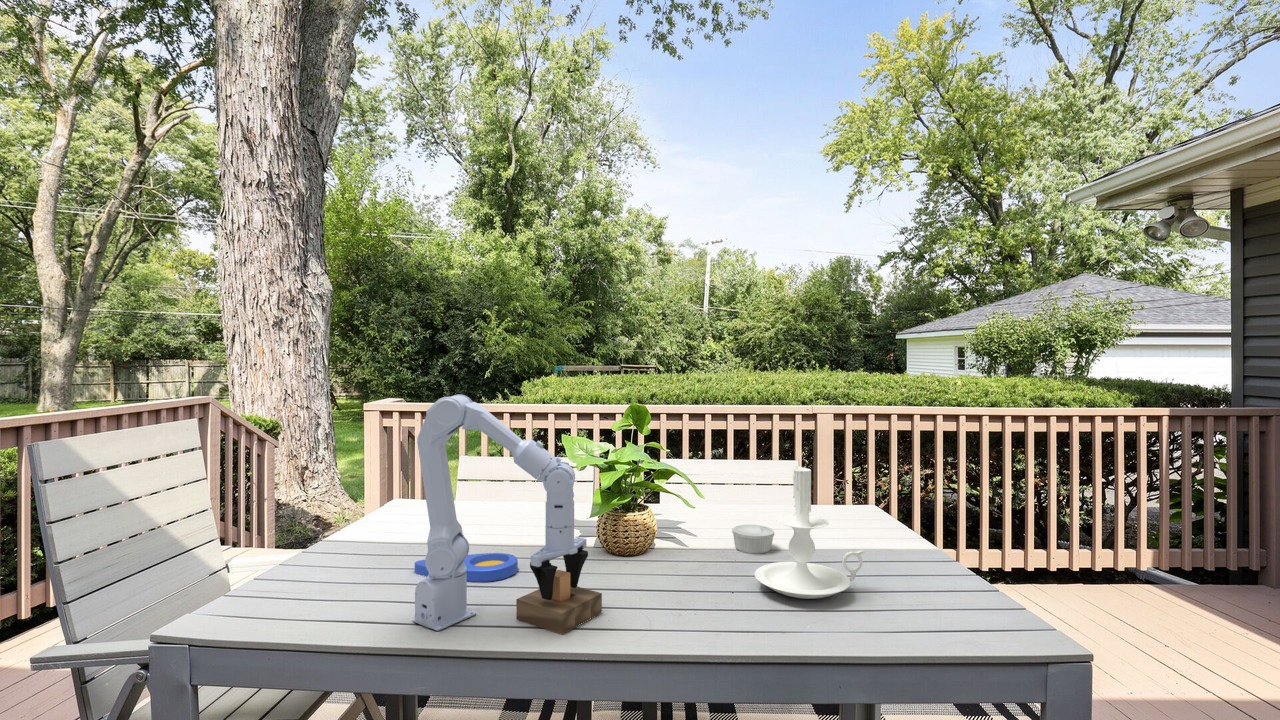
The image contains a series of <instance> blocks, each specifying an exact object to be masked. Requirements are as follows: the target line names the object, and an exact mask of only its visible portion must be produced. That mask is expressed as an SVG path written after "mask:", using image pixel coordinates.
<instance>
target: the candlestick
mask: <svg viewBox="0 0 1280 720" xmlns="http://www.w3.org/2000/svg"><path fill="white" fill-rule="evenodd" d="M792 478H793V498H794V505H793V507H794V508H795V509H794V511H795V514H786V515H785V514H783V515H779V516H777V517H776V518H775V522H776V523H778V524H781V525H783V526H786V527H790V528H792V529H793V534H792V537H791V538H790V540H789V541H788V542H789V543H788V551H789V553H790V555H791V557H792V558H793V559H794V560H795V561H778V562H771V563H767V564H763V565H761V566H760V567H758V568H757V569H756V570H754V577H755V578H756V580H757V581H758V582H759V583H761V584H763V586H766V587H768V588H769V589H771V590H773V591H774V592H776V593H778V594H781V595H783V596H788V597H789V598H797V599H803V600H804V599H809V600H811V599H812V600H814V599H822V598H827V597H830V596H834V595H835V594H838V593H841V592H845V591H846V590H847V589H849V588H850V586H851V584H852V583H851V582H853V581H855V578H856V576H857V573H858V572H859V571H860V569H861V568H862V567H863V558H862V554H864V553H865V551H864V550H857V551H848V552H846V553H845V554H844V555H843V557H842V559H841V564H842V567H843V569H844V570H845V571H846V572H848V573H850V577H849V576H848V575H846V574H845V573H843V572H841V571H840V570H837V569H835V568H832V567H829V566H825V565H822V564H819V563H812V562H811V563H810V562H809V561H810V560H811V559H812V558H813V556H814V555H815V552H816V545H815V542H814V540H813V539H812V537H811V534H810V533H811V530H814V529H820V528H824V527H827V526H828V525H829V521H828V520H827V519H825V518H822V517H818V516H814V515H810V513H811V512H812V470H811V469H810V468H807V466H806V465H805V466H804V467H803V466H800V465H795V466H793V476H792ZM793 498H792V499H793ZM851 556H855V557H857V559H858V562H857V565H856V566H855V567H854V568H849V567H848V566H847V560H848V559H849V558H850V557H851Z"/></svg>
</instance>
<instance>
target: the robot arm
mask: <svg viewBox="0 0 1280 720" xmlns="http://www.w3.org/2000/svg"><path fill="white" fill-rule="evenodd" d="M425 413H426V414H425V415H426V416H425V418H424V421H423V424H422V426H421V427H420V431H419V433H418V435H417V437H416V438H417V440H416V442H417V443H416V444H417V450H418V455H419V462H420V470H421V476H422V482H423V490H424V495H425V502H426V508H427V515H428V521H429V532H428V537H427V541H426V542H427V543H426V545H427V553H426V556H425V559H424V560H425V565H426V568H427V570H428V571H429V575H428V576H425V578H424V579H423V580H421V581H419V582H418V583H417V584H416V586H415V590H414V618H412V622H414V623H415V624H419V625H421V626H423V627H426V628H429V629H432V630H434V631H436V632H437V631H438V632H439V631H441V630H443V629H446V628H448V627H450V626H453V625H455V624H457V623H460V622H461V621H464V620H467V619H468V618H471V617H473V616H475V615H477V611H475V610H472V609H469V608H467V607H468V606H467V605H468V604H467V600H468V599H467V591H468V590H467V588H468V587H467V586H468V585H467V583H468V582H467V567H466V566H465V563H464V559H465V558H466V557H467V555H469V552H470V545H469V544H470V543H469V541H468V539H467V538H466V536H465V534H464V533H463V527H462V525H461V524H460V522H459V521H458V520H457V512H456V506H455V505H456V504H455V500H454V499H455V498H454V493H453V492H454V491H453V486H452V480H451V473H450V472H451V471H450V465H449V460H448V452H447V447H446V444H447V442H448V441H449V440H450V439H451V437H452V436H453V435H454V434H455V432H456V431H457V430H458V429H460V428H462V430H471V431H480V432H482V433H483V434H485V435H486V436H488V437H489V438H490V439H491V440H493V441H494V442H496V443H497V444H498V445H500V446H502V447H503V448H504V449H506V450H507V451H508V452H510V453H511V454H512V457H513V458H512V459H513V463H514V464H515V465H517V466H518V467H519V468H521V469H522V470H523V471H524V472H526V473H527V474H529V475H530V476H531V477H533V478H534V479H535V480H537V482H540V483H542V486H543V489H544V490H545V491H546V501H545V526H544V527H545V528H544V529H545V530H544V531H545V533H544V534H545V535H544V536H545V543H544V544H545V545H544V546H543V547H542V548H541V549H539V550H538V551H537V552H535V553H533V554H530V562H529V568H530V570H531V571H532V573H533V574H534V577H535V579H536V583H537V584H538V589H540V593H541V597H542V598H543V599H546V600H551V599H552V595H553V582H554V577H555V573H556V570H558V568H559V567H558V566H557V565H553V564H552V563H551V562H550V561H552V560H555V559H558V558H560V557H563V560H564V566H565V571H566V572H570V587H572V588H576V587H578V584H579V581H580V576H581V573H582V570H583V567H584V565H585V562H586V560H587V559H588V557H589V552H588V550H584V549H587V538H586V537H585V538H584V537H581V536H579V537H576V538H575V501H574V498H575V494H574V486H575V485H574V484H575V480H576V473H575V469H573V467H572V466H571V465H570V463H569V462H566V461H562V458H561V457H560V456H557V457H556V456H554V455H553V454H552V453H550V452H549V451H548V450H547V449H545V448H544V447H543V445H544V444H543V443H542V442H541V441H540V440H537V441H535V440H533V439H526V440H523V439H522V438H521V437H520V436H519V435H517V434H516V433H515V432H514V431H513V430H511V429H510V428H509V427H507V426H506V425H505V424H504V423H503V422H502V421H501V420H499V419H498V418H497V417H495V415H493V414H492V413H491V412H490V411H489V410H487V409H486V408H485V407H484V406H482V405H481V404H479V403H477V402H476V401H473V400H472V399H471V398H470V397H468V396H467V395H465V394H459V393H458V394H454V395H452V396H443V397H441V398H438V399H437V400H436V401H435V402H434V403H433V404H432V405H431V406H430V407H429V408H428V409H427V410H426V412H425Z"/></svg>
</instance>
